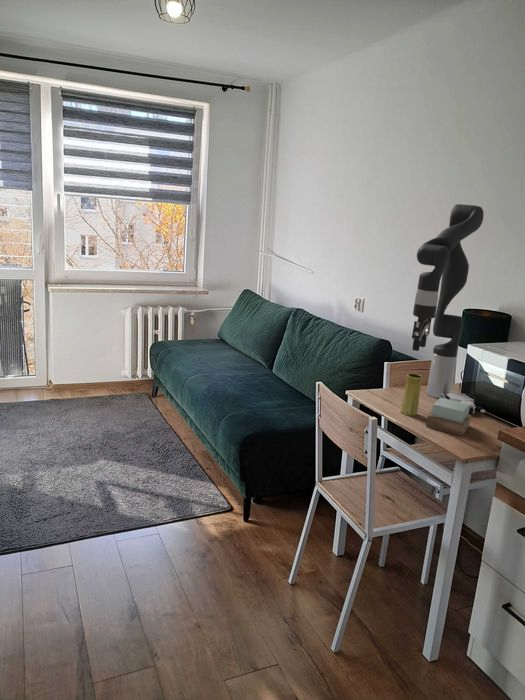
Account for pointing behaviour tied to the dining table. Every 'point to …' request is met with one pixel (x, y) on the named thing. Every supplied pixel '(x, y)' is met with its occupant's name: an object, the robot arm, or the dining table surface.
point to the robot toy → (464, 401)
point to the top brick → (450, 410)
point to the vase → (411, 395)
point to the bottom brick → (448, 424)
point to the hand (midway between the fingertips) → (418, 348)
